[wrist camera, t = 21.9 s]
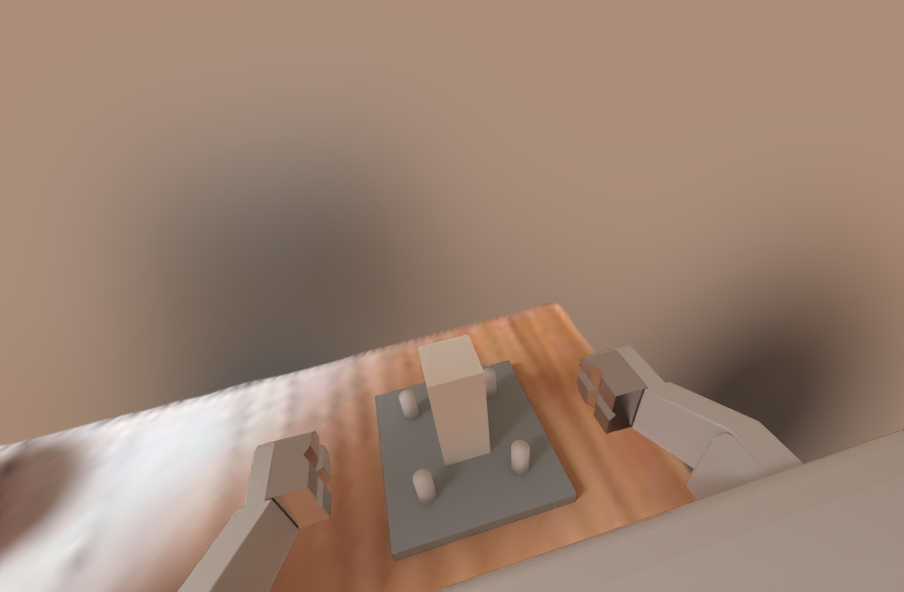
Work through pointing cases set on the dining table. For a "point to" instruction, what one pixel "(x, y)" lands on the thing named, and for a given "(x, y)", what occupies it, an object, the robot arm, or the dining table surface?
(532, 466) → the peg cradle
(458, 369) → the cream post
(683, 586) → the robot arm
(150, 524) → the dining table surface
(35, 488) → the dining table surface
